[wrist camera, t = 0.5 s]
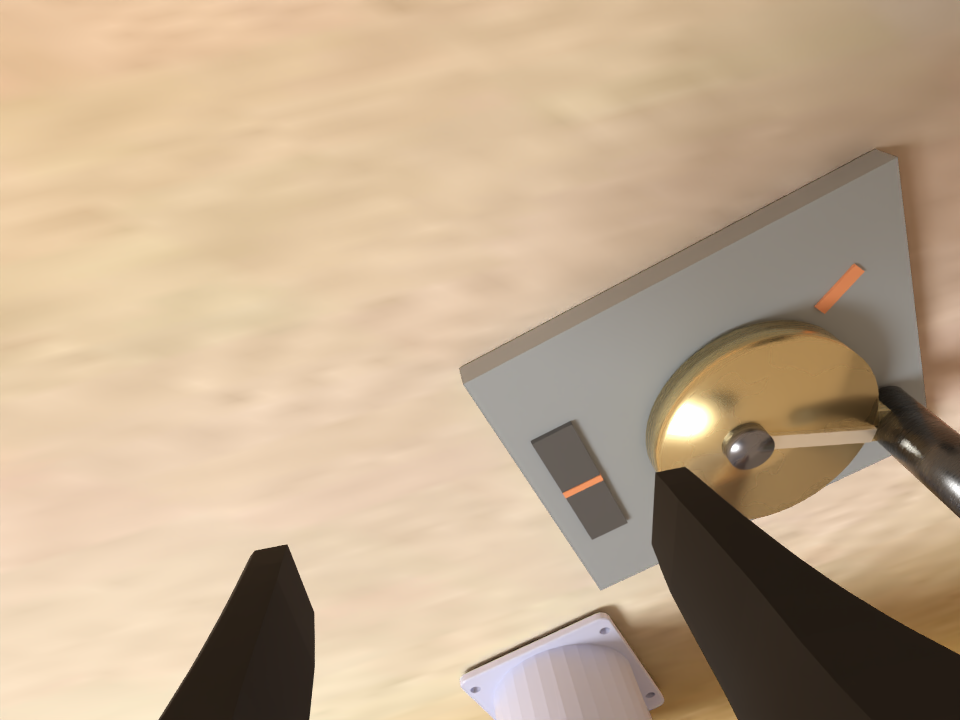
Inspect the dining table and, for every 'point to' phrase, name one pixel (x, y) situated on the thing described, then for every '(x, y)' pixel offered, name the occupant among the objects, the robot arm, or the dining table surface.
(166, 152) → the dining table surface
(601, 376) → the board
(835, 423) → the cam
